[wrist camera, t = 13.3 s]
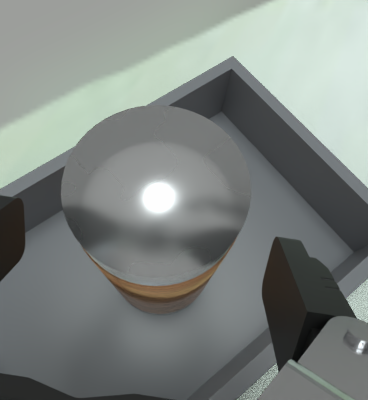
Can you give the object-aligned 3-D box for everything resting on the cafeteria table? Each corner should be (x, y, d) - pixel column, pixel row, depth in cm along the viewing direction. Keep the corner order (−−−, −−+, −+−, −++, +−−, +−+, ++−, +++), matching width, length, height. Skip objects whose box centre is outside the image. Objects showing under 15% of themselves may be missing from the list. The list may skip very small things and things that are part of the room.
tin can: (212, 230, 24) (257, 117, 12) (202, 322, 22) (246, 294, 10) (125, 217, 24) (85, 92, 12) (105, 308, 22) (33, 263, 10)
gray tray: (221, 106, 29) (233, 56, 24) (364, 257, 25) (414, 234, 20) (-60, 279, 23) (-125, 260, 18) (64, 525, 18) (26, 593, 13)
